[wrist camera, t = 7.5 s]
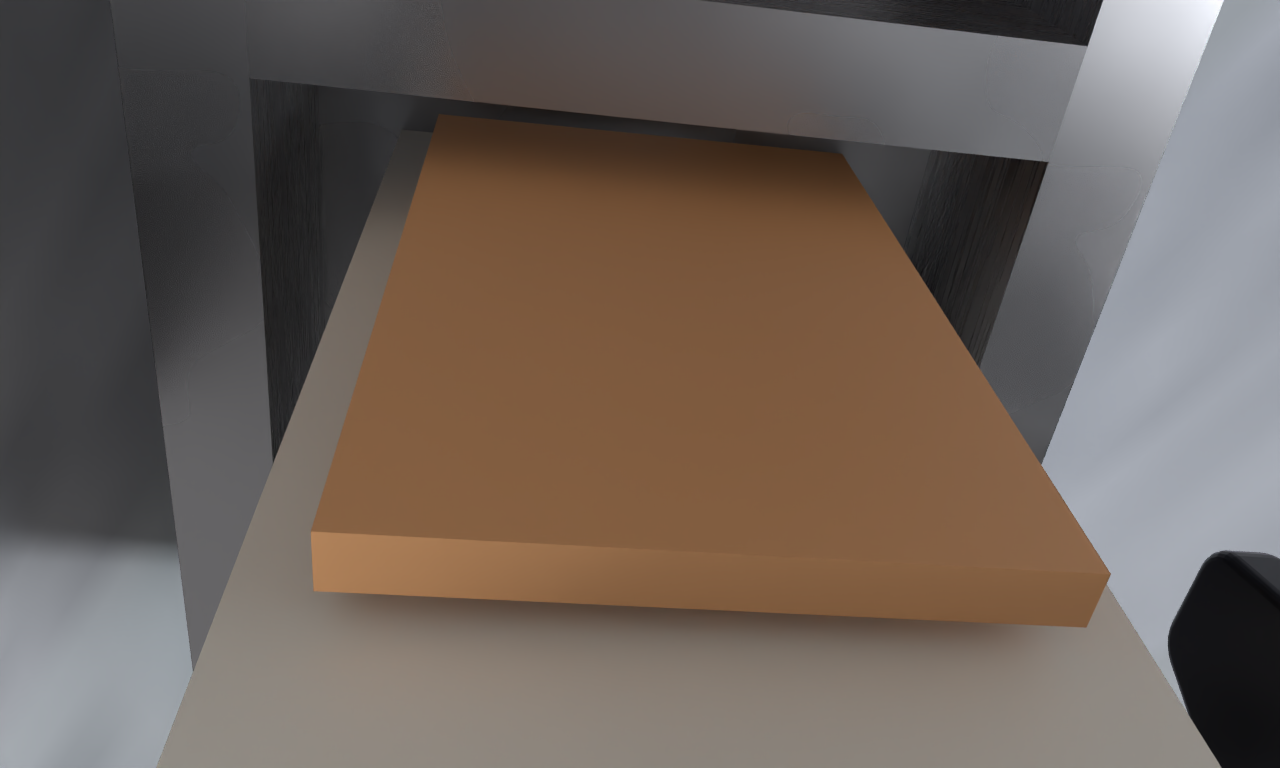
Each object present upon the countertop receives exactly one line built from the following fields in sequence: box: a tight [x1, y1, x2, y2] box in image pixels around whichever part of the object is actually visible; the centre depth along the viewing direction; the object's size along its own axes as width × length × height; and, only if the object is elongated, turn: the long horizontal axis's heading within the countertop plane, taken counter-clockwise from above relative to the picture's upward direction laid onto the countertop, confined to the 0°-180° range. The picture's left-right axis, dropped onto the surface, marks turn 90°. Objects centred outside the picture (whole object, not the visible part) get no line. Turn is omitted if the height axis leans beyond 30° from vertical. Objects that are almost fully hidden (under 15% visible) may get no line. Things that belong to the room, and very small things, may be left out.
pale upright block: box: [156, 114, 1221, 768], centre depth 8 cm, size 4×4×7 cm
